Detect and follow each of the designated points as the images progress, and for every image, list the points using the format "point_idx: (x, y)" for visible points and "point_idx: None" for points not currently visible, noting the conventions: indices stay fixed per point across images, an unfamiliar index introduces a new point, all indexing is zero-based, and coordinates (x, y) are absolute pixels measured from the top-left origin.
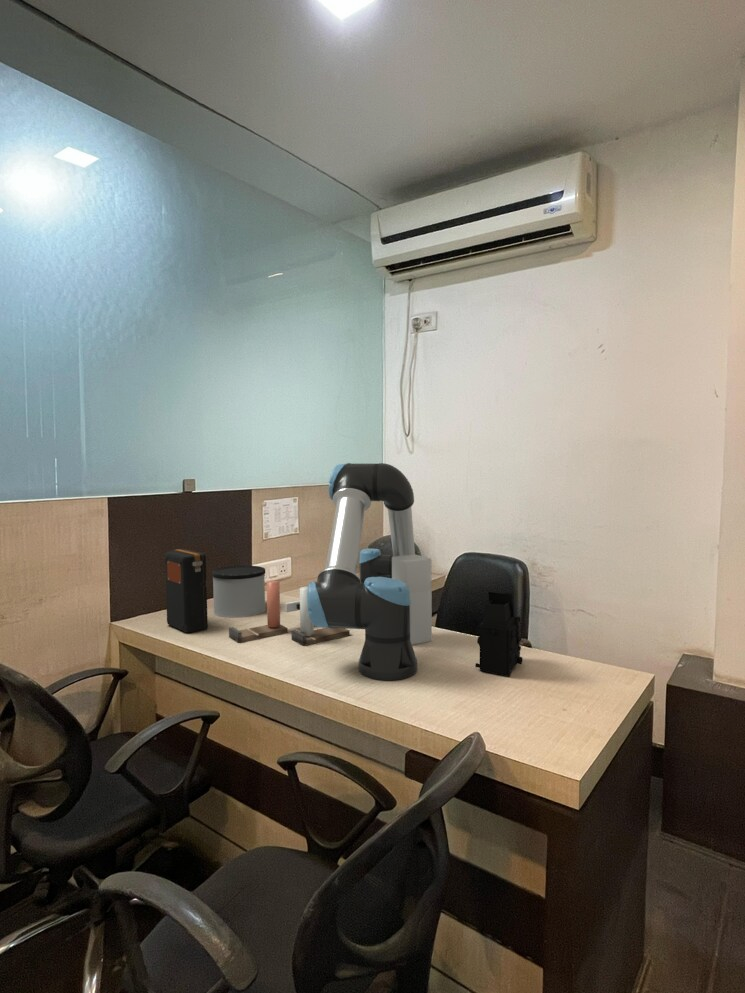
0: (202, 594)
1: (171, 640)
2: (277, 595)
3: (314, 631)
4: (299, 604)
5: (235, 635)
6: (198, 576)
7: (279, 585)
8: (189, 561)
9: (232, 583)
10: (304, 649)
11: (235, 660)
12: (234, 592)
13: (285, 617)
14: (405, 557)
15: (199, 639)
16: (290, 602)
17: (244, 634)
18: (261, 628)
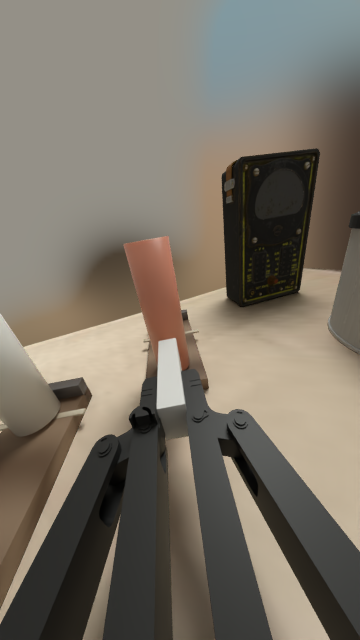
0: (236, 248)
1: (208, 293)
2: (136, 289)
3: (40, 457)
4: (150, 385)
5: None
6: (232, 213)
7: (133, 257)
8: (223, 182)
9: (350, 241)
10: None
11: (96, 327)
12: (345, 268)
13: (350, 442)
14: None
15: (197, 305)
16: (172, 350)
17: None
18: None
